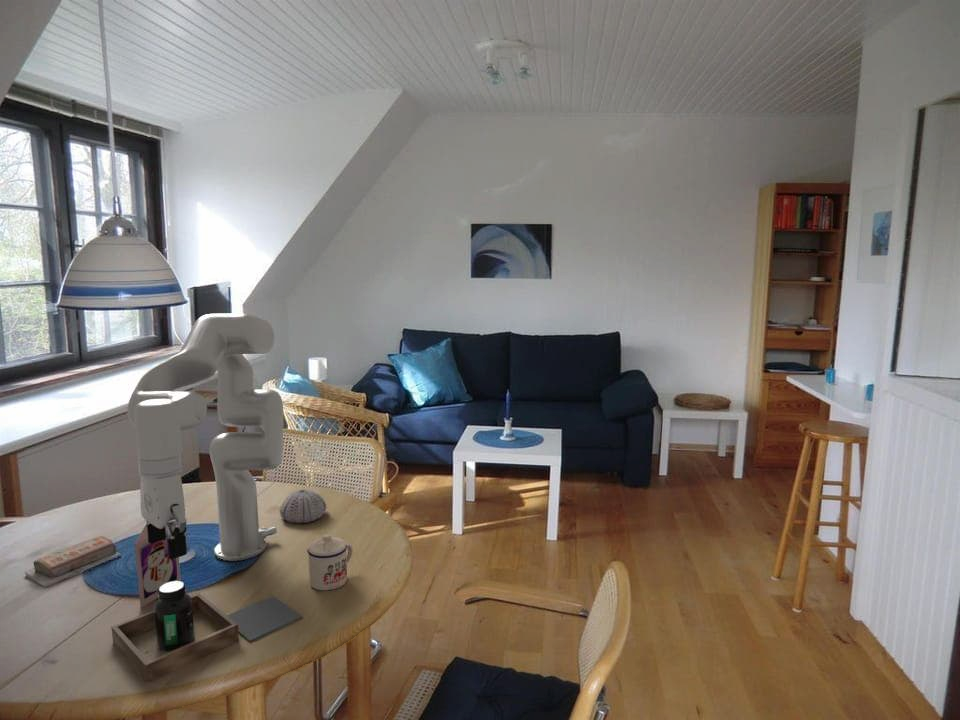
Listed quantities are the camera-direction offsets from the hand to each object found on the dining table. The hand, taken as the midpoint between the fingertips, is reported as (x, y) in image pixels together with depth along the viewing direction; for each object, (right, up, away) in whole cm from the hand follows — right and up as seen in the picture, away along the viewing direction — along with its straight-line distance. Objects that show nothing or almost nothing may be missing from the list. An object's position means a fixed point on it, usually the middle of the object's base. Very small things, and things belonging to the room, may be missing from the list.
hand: (167, 548), depth 126 cm
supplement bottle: (0, -20, +4) cm, 20 cm away
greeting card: (-14, -17, +22) cm, 31 cm away
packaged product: (-39, -15, +35) cm, 55 cm away
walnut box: (0, -20, +4) cm, 20 cm away
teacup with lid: (+26, -16, +29) cm, 42 cm away
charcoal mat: (+14, -18, +12) cm, 26 cm away
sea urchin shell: (+9, -10, +64) cm, 65 cm away
